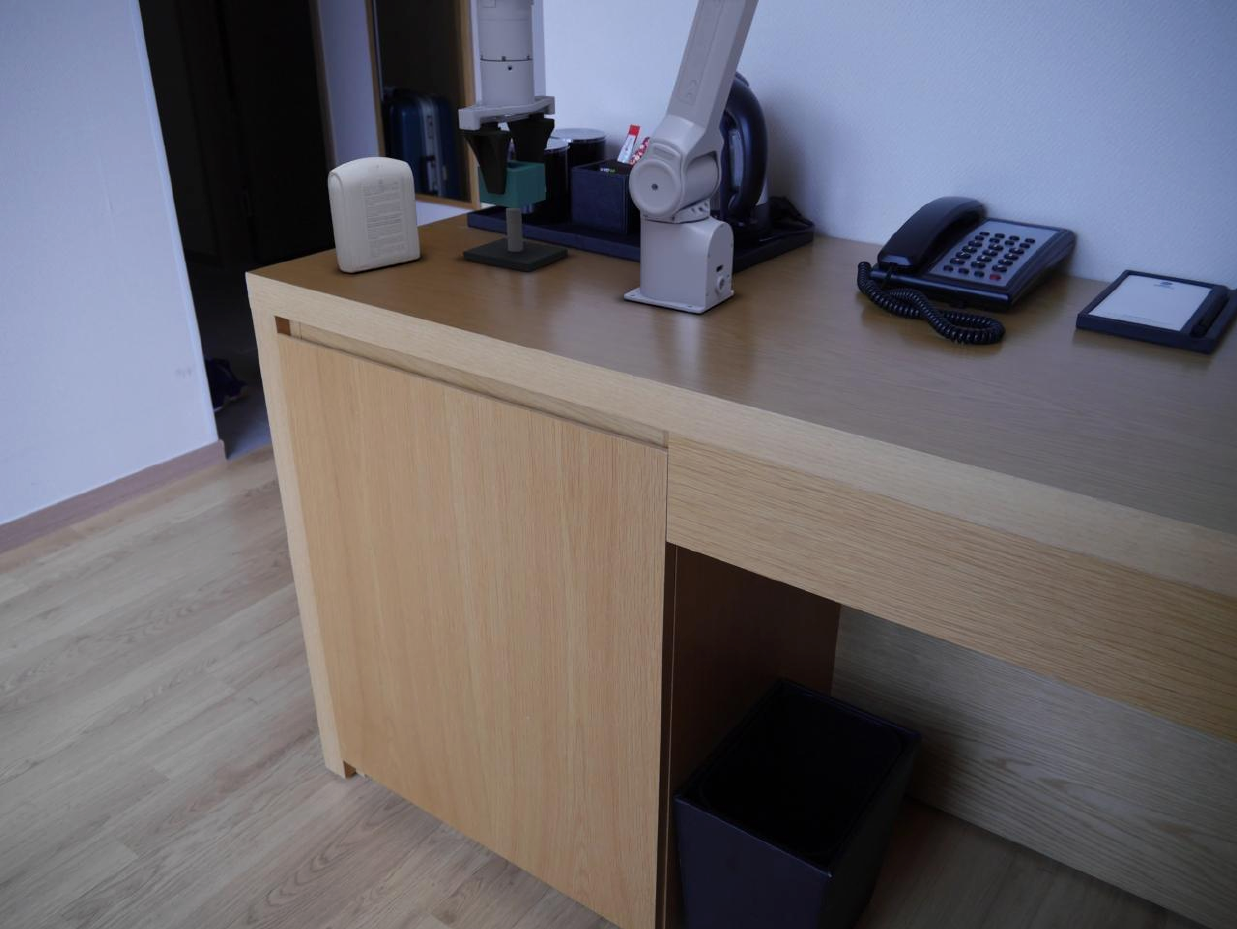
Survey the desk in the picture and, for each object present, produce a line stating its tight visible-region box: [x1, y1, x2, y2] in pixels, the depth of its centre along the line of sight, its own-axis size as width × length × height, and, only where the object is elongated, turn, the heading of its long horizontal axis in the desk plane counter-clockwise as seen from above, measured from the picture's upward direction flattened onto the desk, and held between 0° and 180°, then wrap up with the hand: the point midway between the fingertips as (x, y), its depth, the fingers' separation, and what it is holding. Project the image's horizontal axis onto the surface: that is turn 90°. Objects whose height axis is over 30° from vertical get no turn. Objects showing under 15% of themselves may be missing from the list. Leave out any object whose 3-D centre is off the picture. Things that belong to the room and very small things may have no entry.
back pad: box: [462, 207, 569, 273], centre depth 117 cm, size 10×8×6 cm
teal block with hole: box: [477, 158, 547, 208], centre depth 109 cm, size 5×5×4 cm
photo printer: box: [327, 156, 421, 274], centre depth 113 cm, size 10×4×12 cm, turn 134°
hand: (512, 188), depth 109 cm, fingers closed on teal block with hole, 5 cm apart
